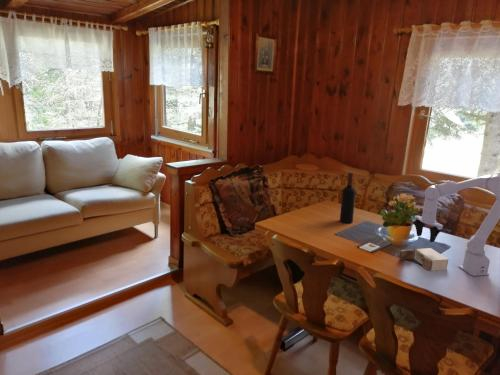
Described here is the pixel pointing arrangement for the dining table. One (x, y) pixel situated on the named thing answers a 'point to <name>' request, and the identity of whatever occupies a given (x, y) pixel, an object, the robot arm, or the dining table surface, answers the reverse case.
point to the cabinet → (431, 259)
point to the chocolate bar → (374, 245)
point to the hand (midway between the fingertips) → (425, 238)
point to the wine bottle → (348, 202)
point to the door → (407, 254)
